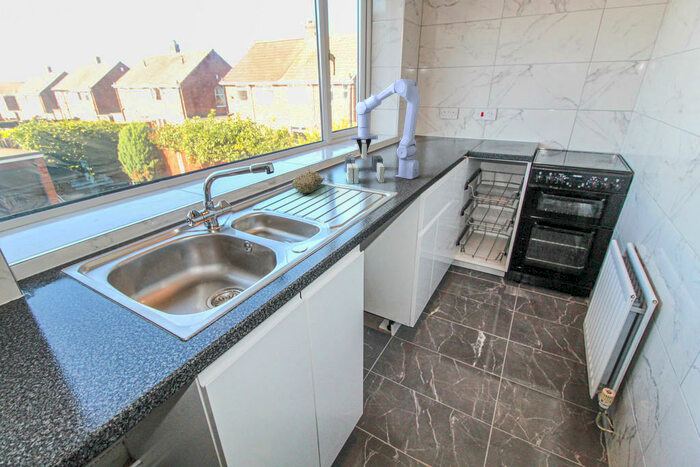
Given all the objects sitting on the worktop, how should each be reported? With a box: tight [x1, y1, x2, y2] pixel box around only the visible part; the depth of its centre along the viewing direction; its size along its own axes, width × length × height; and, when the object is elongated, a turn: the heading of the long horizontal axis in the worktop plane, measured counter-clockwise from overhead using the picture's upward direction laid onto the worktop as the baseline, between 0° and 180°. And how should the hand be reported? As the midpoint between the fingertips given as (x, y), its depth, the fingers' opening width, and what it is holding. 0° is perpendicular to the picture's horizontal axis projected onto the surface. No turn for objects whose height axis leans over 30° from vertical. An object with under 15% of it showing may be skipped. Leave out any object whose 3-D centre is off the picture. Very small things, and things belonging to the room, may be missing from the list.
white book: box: [360, 141, 368, 160], centre depth 174 cm, size 2×9×8 cm, turn 4°
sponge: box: [292, 171, 325, 194], centre depth 143 cm, size 13×8×20 cm
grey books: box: [344, 155, 384, 173], centre depth 177 cm, size 19×9×6 cm, turn 94°
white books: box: [346, 162, 385, 185], centre depth 156 cm, size 17×9×8 cm, turn 94°
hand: (363, 153), depth 175 cm, fingers closed on white book, 2 cm apart
